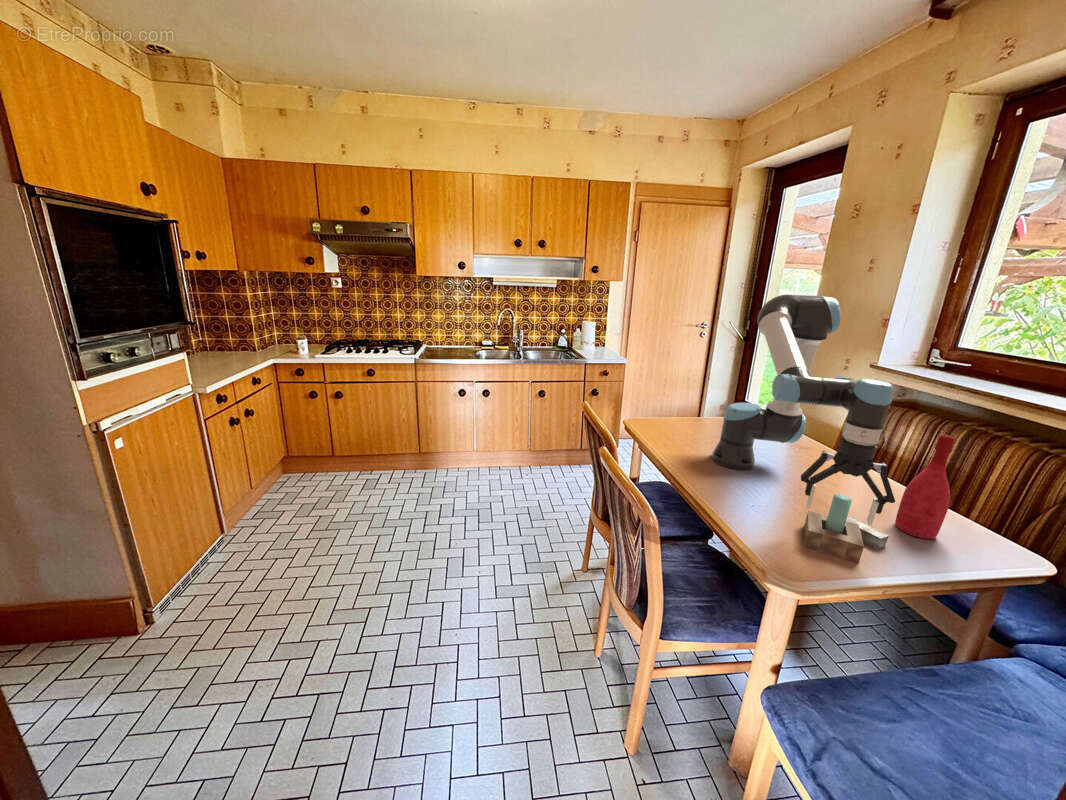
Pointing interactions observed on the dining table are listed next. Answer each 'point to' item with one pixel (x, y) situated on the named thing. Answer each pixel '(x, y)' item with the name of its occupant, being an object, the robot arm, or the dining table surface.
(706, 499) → the dining table surface
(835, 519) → the peg
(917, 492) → the wine bottle
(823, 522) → the socket block
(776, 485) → the dining table surface
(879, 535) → the grey bar
